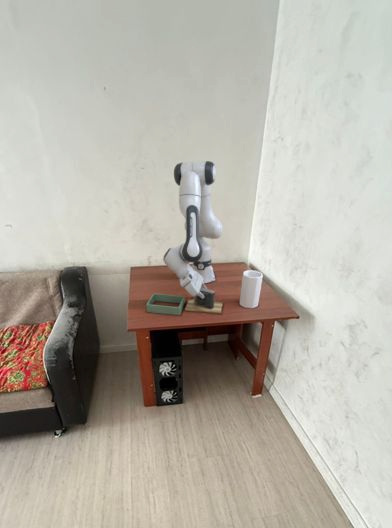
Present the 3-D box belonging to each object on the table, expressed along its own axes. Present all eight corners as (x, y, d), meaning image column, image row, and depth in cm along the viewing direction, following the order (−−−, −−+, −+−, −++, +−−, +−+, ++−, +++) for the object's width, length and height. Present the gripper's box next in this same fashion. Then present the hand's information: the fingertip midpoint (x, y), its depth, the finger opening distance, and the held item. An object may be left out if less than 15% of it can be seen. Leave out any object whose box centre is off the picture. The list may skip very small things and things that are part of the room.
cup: (243, 309, 165) (247, 278, 154) (236, 300, 174) (239, 270, 163) (261, 307, 168) (266, 276, 157) (253, 298, 176) (257, 269, 165)
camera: (215, 306, 165) (216, 289, 160) (211, 310, 161) (212, 294, 155) (197, 301, 169) (197, 285, 163) (192, 306, 165) (193, 289, 159)
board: (188, 300, 172) (188, 299, 172) (222, 304, 170) (222, 302, 169) (185, 310, 163) (185, 309, 162) (220, 314, 160) (220, 312, 160)
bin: (153, 300, 172) (153, 293, 169) (184, 303, 170) (184, 296, 167) (146, 312, 160) (146, 304, 158) (179, 315, 158) (179, 307, 156)
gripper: (186, 271, 166) (203, 289, 171) (179, 286, 150) (198, 305, 155) (194, 264, 163) (211, 282, 168) (188, 279, 147) (206, 298, 151)
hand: (205, 293), depth 161 cm, fingers open, 8 cm apart
